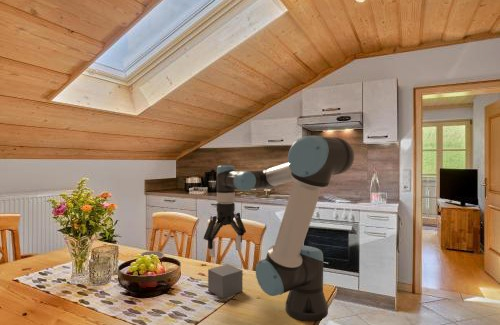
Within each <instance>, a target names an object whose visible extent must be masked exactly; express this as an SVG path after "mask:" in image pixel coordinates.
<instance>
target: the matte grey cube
mask: <svg viewBox="0 0 500 325" xmlns="http://www.w3.org/2000/svg"><path fill="white" fill-rule="evenodd" d="M207 269H208V268H207ZM207 272H208V273H207V274H208V275H207V277H208V278H207V280H208V283H207V286H208V287H207V290H208V291H209V292H210V293H213V294H214V295H215V296H218V297H219V298H221V299H225V298H227V297H231V296H233V295H237V294H239V293H243V274H244V273H243V272H244V271H243V269H240V268H238V267H235V266H233V265H231V264H229V263H226V264H223V265H220V266H215V267H212V268H209V269H208V270H207Z"/></svg>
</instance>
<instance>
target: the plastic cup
mask: <svg viewBox="0 0 500 325" xmlns="http://www.w3.org/2000/svg"><path fill="white" fill-rule="evenodd" d="M151 254H154V255H157V256H158V257H159V260H160V262H161V265H162V264H163V263H162V262H163V259H164V257H165V255H166V254H165V253H164V252H162V251H158V250H150V251H149V250H148V251H144V252H141V253H140V254H139V257H140V256H144V255H151Z"/></svg>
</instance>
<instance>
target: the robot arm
mask: <svg viewBox="0 0 500 325" xmlns="http://www.w3.org/2000/svg"><path fill="white" fill-rule="evenodd" d="M354 160H355V152H354V148H353V147H352V145H351V144H350V143H349V142H348V141H347V140H345V139H343V138H341V137H335V136H334V137H331V136H321V135H317V134H316V135H314V134H313V135H304V136H301V137H300V138H298V139H297V140H295V141H294V142H293V144H292V145H291V146H290V148H289V151H288V154H287V162H284V163H281V164H278V165H275V166H272V167H269V168H266V169H263V170H236V169H235V168H236V167H235V165H217V167H216V175H215V176H216V202H217V203H216V215H212V214H211V215H210V219H209V223H208V225H207V229H205V230H206V231H205V232H204V236H203V240H205V241H207V248H208V249H209V257H211V258H213V259H214V258H215V257H216V256H215V255H216V250H215V249H216V241H215V239H216V236H217V234H218V233H219V232H220V230H221V228H223V226H227V225H228V226H229V225H230V226H231V227H232V229H233V230H234V232H235V233H236V234H235V251H238V252H241V251H242V242H243V236H244V234H246V233H247V231H246V228H245V225H244V223H243V221H242V218H241V212H237V211H235V210H236V209H235V208H236V207H235V206H236V204H235V201H236V195H235V194H236V193H235V192H236V191H237V190H238V191H242V192H245V191H246V192H247V191H251V190H258V189H261V190H262V189H274V188H276V187H277V186H279V185H283V184H288V183H290V182H293V184H292V186H291V190H290V192H289V195H288V198H287V199H288V200H287V203H286V207H285V210H284V212H283V216H282V219H281V223H280V226H279V230H278V233H277V236H276V240H275V243H274V244H273V245H272V246H270V247H269V248H268V250H267V253H266V257H265V258H264V259H261V260H259V261H258V262H257V263H256V265H255V276H256V277H255V278H256V281H257V283H258V285H259V286H260V289H261V290H262V291H263V292H264V293H265V294H266V295H268V296H271V297H275V296H281V295H283V294H285V293H288V295H287V298H286V300H285V312H286V313H287V314H288V315H289V316H290V317H291V318H294V319H296V320H299V321H306V322H316V321H320V320H323V319H325V318H327V317H328V314H329V306H328V303H327V300H326V296H325V293H324V253H323V251H322V250H321V249H320V248H317V247H314V246H310V245H304V243H305V241H306V240H305V239H306V237H307V233H308V232H309V227H310V226H311V221H312V219H313V216H314V213H315V209H316V206H317V203H318V202H319V201H318V200H319V197H320V194H321V191H322V190H323V189H326V188H327V187H328V186H329V184H330V181H331V178H332V176H336V175H342V174H343V173H346V172H347V171H349V170H350V168H351V167H353V166H352V165H353V164H354ZM235 190H236V191H235Z"/></svg>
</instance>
